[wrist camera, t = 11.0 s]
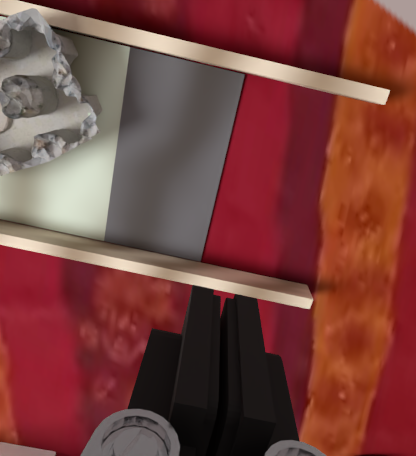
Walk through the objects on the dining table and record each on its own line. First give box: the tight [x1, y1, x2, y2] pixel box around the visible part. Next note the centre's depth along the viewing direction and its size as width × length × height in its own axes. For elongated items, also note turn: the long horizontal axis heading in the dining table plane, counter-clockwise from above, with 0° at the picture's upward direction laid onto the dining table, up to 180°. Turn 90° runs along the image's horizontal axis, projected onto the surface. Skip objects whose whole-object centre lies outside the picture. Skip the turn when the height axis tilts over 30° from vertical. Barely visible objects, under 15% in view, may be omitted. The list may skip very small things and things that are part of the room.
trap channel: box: [0, 0, 390, 309], centre depth 24 cm, size 32×15×2 cm, turn 78°
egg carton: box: [0, 8, 102, 176], centre depth 22 cm, size 11×8×4 cm
